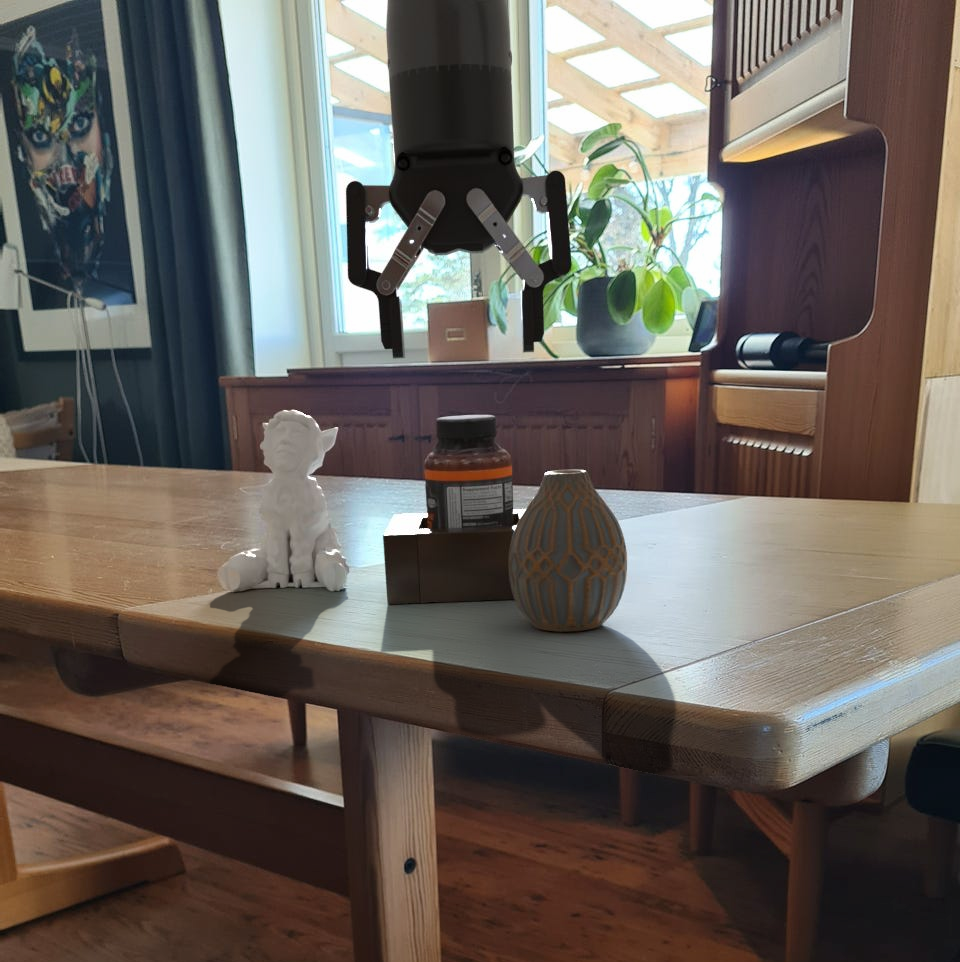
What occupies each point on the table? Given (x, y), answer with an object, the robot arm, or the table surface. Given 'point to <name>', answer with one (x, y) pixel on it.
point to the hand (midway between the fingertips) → (464, 355)
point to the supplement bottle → (468, 475)
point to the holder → (446, 561)
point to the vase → (567, 556)
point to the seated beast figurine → (291, 515)
